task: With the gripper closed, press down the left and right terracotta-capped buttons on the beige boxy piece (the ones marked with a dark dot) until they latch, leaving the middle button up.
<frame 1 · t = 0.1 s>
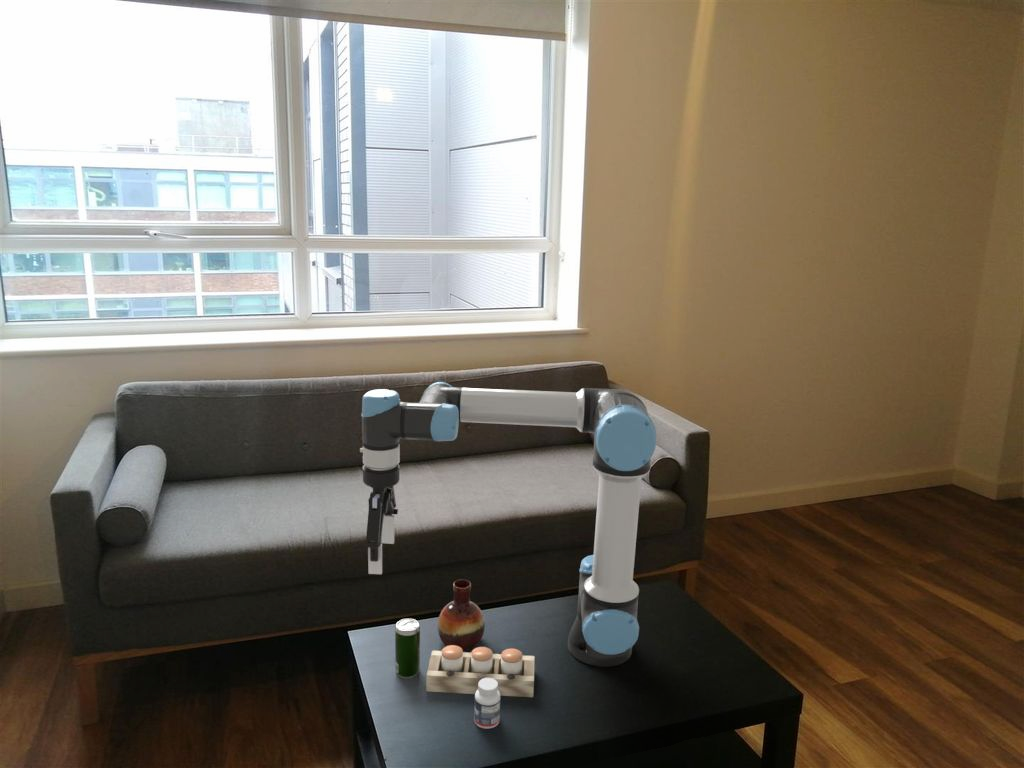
hand: (381, 557, 170), 28 cm above the table, fingers open, 13 cm apart
beige boxy piece: (481, 681, 175), on the table
button c: (452, 660, 174), point 5 cm above the table, slide at 0.0 cm
button a: (511, 663, 174), point 5 cm above the table, slide at 0.0 cm
pill bottle: (486, 721, 163), on the table
button b: (481, 662, 174), point 5 cm above the table, slide at 0.0 cm
vase: (460, 642, 190), on the table
beer can: (407, 672, 178), on the table
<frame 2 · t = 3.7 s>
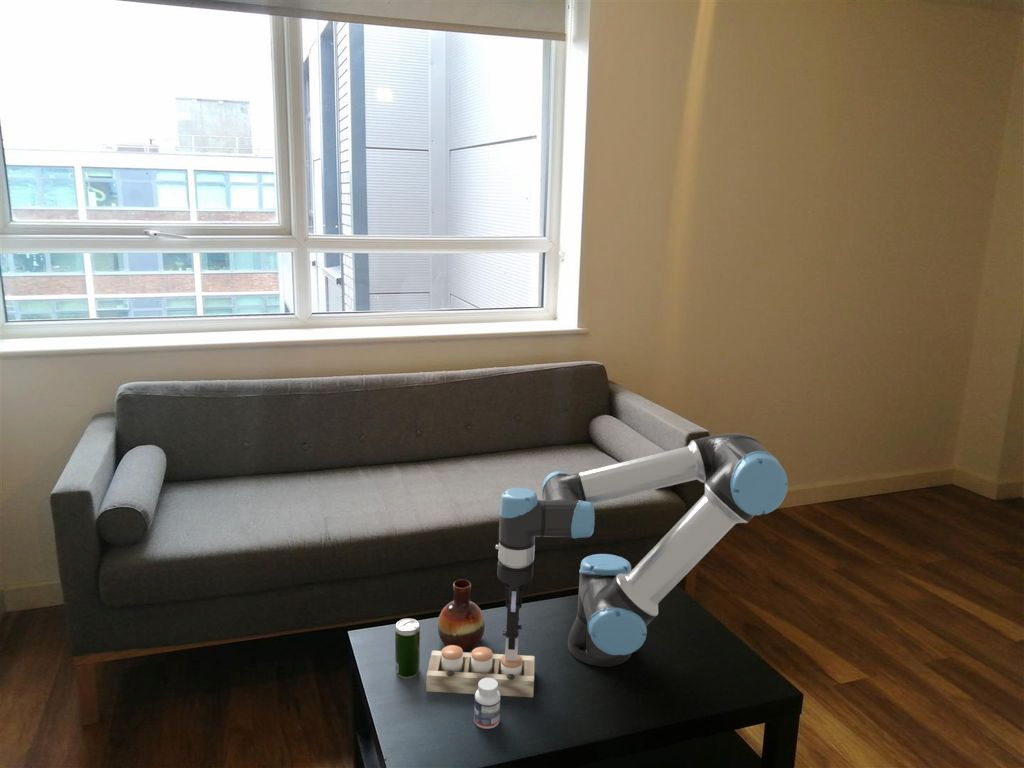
hand: (511, 658, 174), 6 cm above the table, fingers closed
button a: (511, 668, 174), point 4 cm above the table, slide at 1.2 cm, touching gripper
everything else where it was.
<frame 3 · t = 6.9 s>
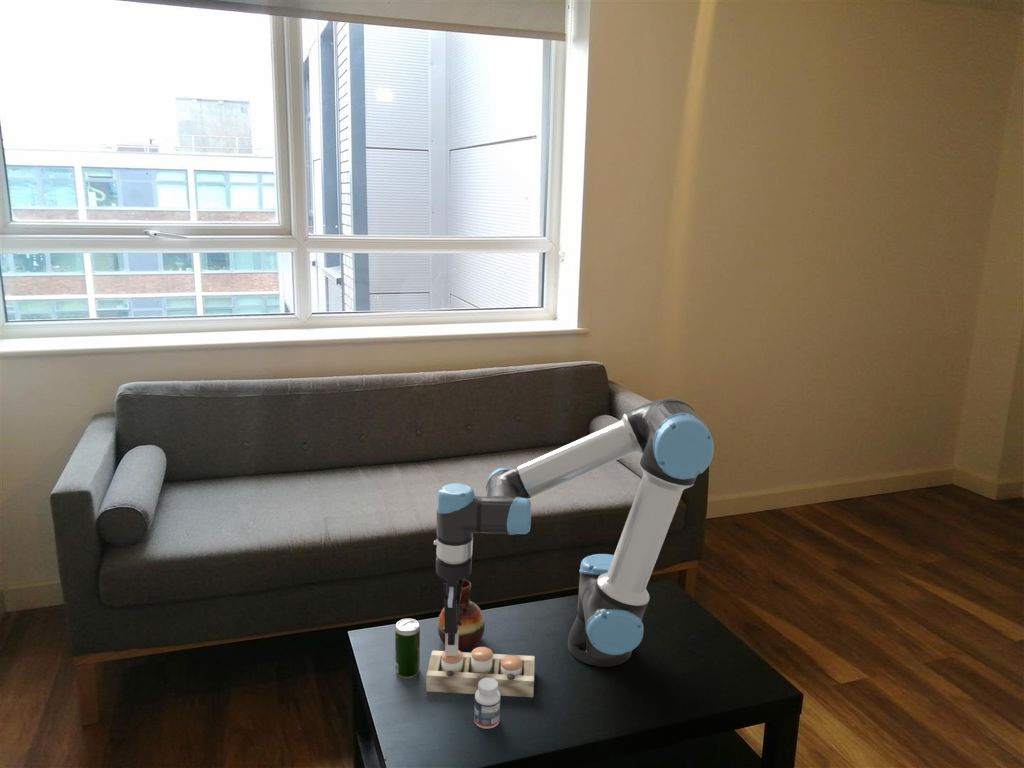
hand: (451, 654, 174), 6 cm above the table, fingers closed
button c: (452, 664, 175), point 4 cm above the table, slide at 0.9 cm, touching gripper
button a: (511, 671, 174), point 3 cm above the table, slide at 1.9 cm
everything else where it was.
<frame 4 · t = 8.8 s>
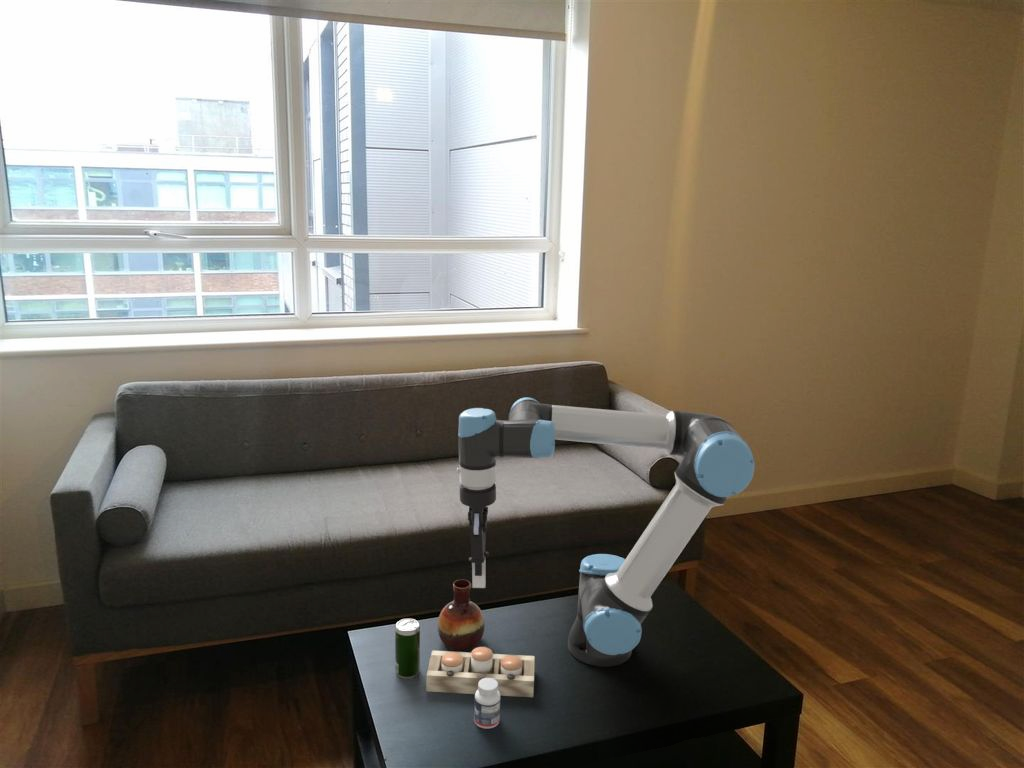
hand: (479, 586, 170), 23 cm above the table, fingers closed
button c: (452, 667, 175), point 3 cm above the table, slide at 1.9 cm
everything else where it was.
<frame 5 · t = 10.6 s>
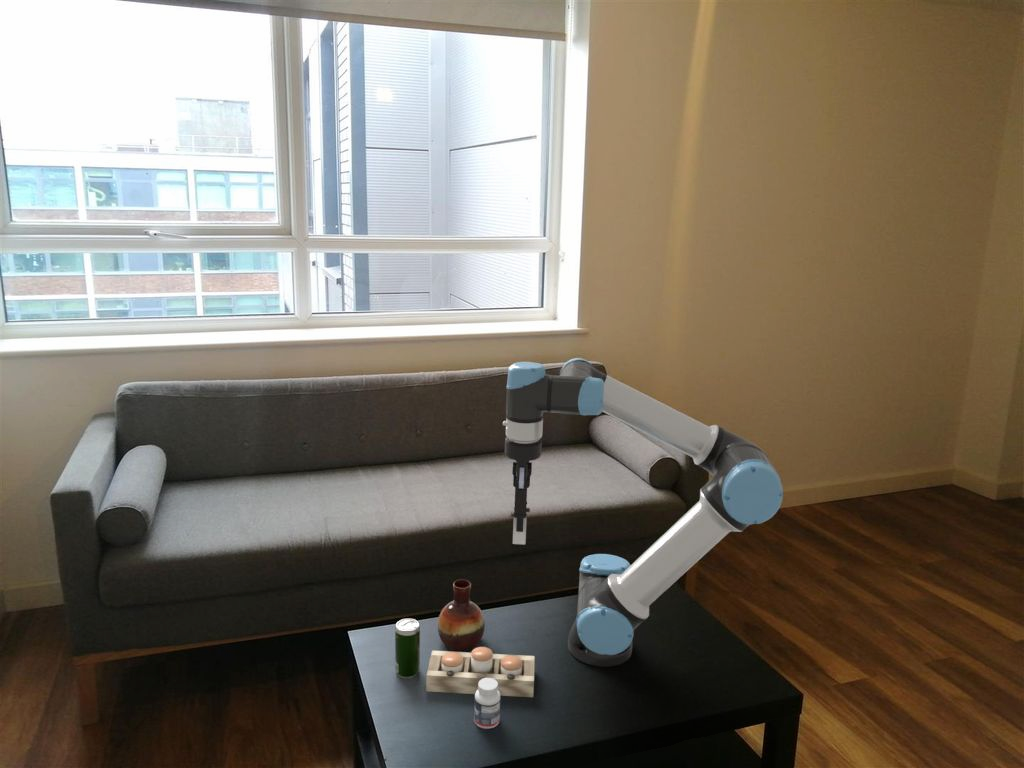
hand: (519, 542, 169), 32 cm above the table, fingers closed
nothing on the table moved.
at the end: button a slide at 1.9 cm; button c slide at 1.9 cm; button b slide at 0.0 cm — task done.
